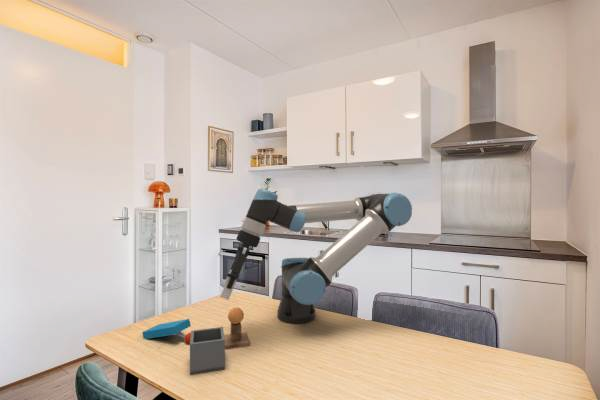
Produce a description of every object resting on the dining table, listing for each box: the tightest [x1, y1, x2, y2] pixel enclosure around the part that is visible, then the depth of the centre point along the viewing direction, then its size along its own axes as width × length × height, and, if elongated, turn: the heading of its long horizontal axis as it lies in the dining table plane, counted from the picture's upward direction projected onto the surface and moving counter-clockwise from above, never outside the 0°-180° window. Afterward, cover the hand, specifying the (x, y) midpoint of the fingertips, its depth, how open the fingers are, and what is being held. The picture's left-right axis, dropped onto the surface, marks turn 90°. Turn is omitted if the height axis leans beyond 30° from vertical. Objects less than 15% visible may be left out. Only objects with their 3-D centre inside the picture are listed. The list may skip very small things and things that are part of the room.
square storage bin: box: [189, 326, 226, 376], centre depth 87 cm, size 9×9×8 cm
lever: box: [142, 318, 191, 345], centre depth 103 cm, size 7×7×18 cm
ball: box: [227, 307, 245, 324], centre depth 100 cm, size 5×5×5 cm
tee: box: [224, 321, 251, 350], centre depth 100 cm, size 8×8×6 cm
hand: (225, 293), depth 101 cm, fingers open, 13 cm apart
